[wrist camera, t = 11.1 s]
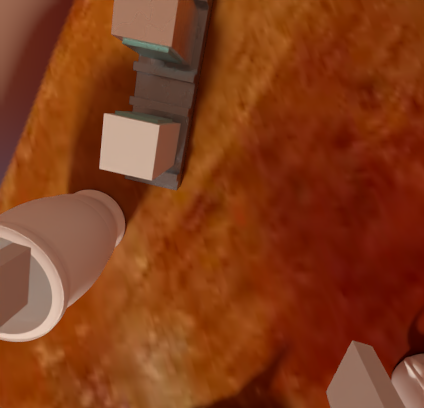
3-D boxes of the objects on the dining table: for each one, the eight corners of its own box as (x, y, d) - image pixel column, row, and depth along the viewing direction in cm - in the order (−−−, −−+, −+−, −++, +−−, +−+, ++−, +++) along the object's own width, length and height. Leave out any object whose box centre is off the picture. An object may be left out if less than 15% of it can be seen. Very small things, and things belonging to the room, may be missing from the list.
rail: (155, -22, 28) (111, -92, 19) (215, -10, 28) (200, -75, 19) (131, 175, 34) (88, 197, 25) (180, 186, 34) (155, 212, 25)
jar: (110, 272, 39) (32, 364, 24) (42, 230, 38) (-79, 299, 23) (149, 211, 35) (85, 274, 21) (76, 163, 35) (-41, 195, 20)
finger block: (139, 111, 30) (104, 109, 23) (181, 120, 30) (160, 121, 22) (133, 156, 32) (99, 168, 24) (173, 165, 31) (151, 180, 24)
